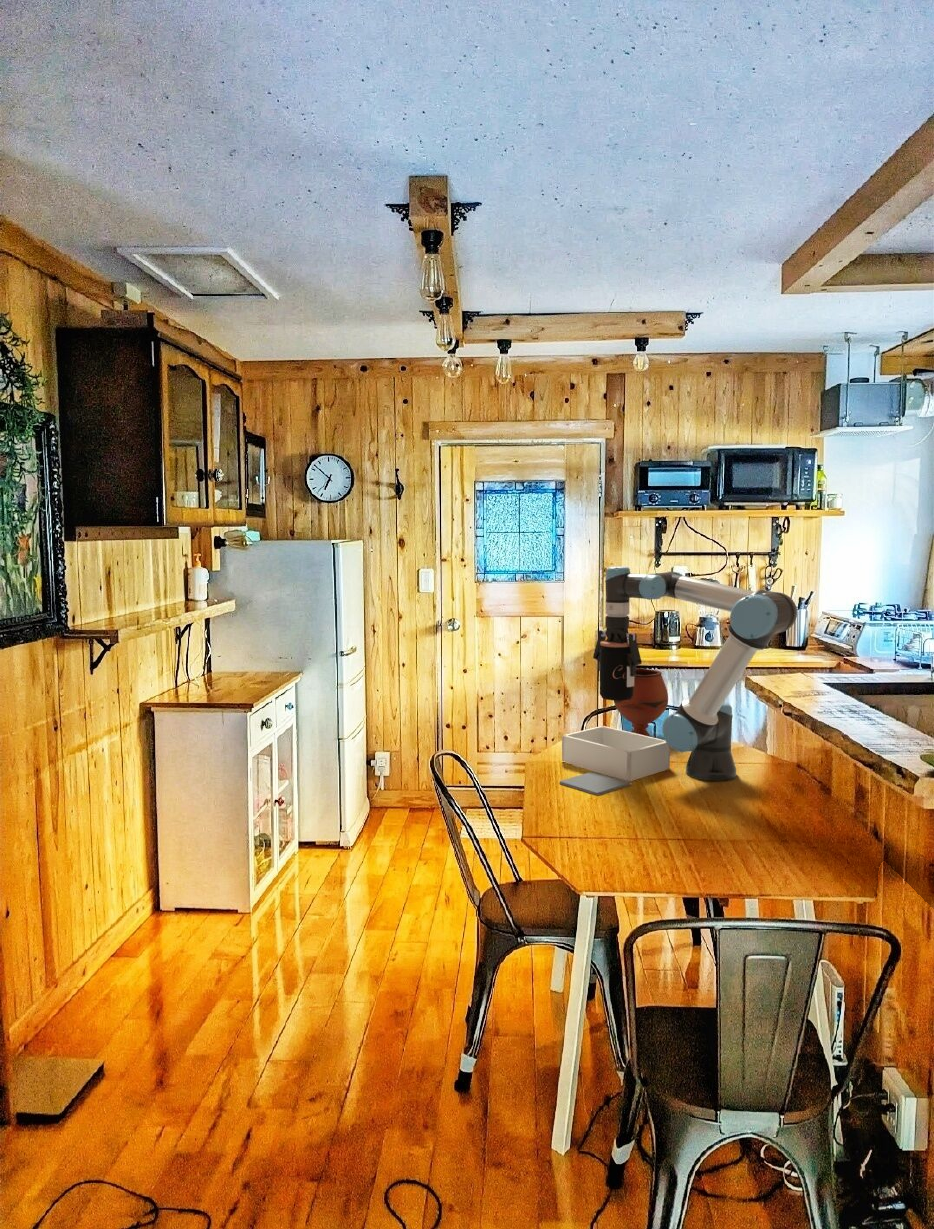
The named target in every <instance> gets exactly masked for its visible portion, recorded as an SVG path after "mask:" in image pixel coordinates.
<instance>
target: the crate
mask: <svg viewBox="0 0 934 1229" xmlns="http://www.w3.org/2000/svg"><path fill="white" fill-rule="evenodd" d="M670 757H671V747H670V746H669V745H668V744H667V742H666V741H665V739H663V738H662V739H660V738H656V737H652V736H651V737H649V736H644V735H640V734H636V733H632V731H627V730H623V729H618V728H614V727H609V726H605V725H601V726H597V727H592V728H587V729H584V730H578V731H575V732H571V733H567V734H563V735H562V736H561V762H562V761H565V762H567V763H569V764H568V765H570V764H572V765H571V766H573V765H574V767H577V768H581V769H584V770H587V771H590V772H596V773H599V774H603V775H606V776H610V777H613V778H617V779H620V780H624V781H627V782H633V781H634V780H635V781H636V780H639V779H641V778H645V777H648V776H652V775H654V774H659V773H661V772H664V771H668V770H670V768H671V767H670V764H671V762H670V760H671V758H670Z"/></svg>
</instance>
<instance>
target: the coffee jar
mask: <svg viewBox="0 0 934 1229" xmlns="http://www.w3.org/2000/svg"><path fill="white" fill-rule="evenodd" d="M606 640H607V639H605V640H604V641H601V642H600V645H601V646H602V648H601V649H600V671H599V673H600V682H599V695H600V697H601V698H602V699H603V700H607V701H614V700H615V701H622V700H629V699H631V697H632V696H633V686H632V687H627V666H628V665H629V664H628V661H627V654H631V650H630V646H629V643H626V642H625V643H623V644H621V643H616V642H606ZM628 642H629V640H628Z"/></svg>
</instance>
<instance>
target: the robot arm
mask: <svg viewBox="0 0 934 1229" xmlns="http://www.w3.org/2000/svg"><path fill="white" fill-rule="evenodd" d="M604 582H605V615H606V616H605V620H604V621H605V622H604V626H605V628H606V629H601V630H598V632H597V636H598V637H597V639H596V640H597V641H596V644H595V648H594V652H593V656H592V658H593V660H596V661H597V666H598V667H597V670H598V672H599V677H598V679H599V681H598V682H599V683H600V649H601V648H602V646H601V645H600V642H601V641H604V640H606V642H616V643H621V644H623V643H625V642H626V643H629V646H630V650H631V654H627V661H628V664H629V665H628V666H627V687H632V686H634V676H636V669H637V666H639V665H642V663H643V662H642V658H641V654H640V650H639V645H638V642H637V640H638V639H637V637H638V635H637V633H635V632H634V633H630V632H629V628H630V616H629V615H630V600H631V599H633V598H634V599H644V600H649V601H650V600H660V599H661V598H662V597H668V598H673V599H677V600H681V601H685V602H690V603H694V604H698V605H701V606H704V607H710V608H713V609H717V610H722V611H726V612H728V613H730V615H729V619H730V623H729V624H728V626H727V632H728V634H729V635H728V637H727V638H726V640H725V642H724V643H723V645H722V647H721V648H720V650H719V652H718V653H717V654H716V656H715V658H714V660H712V662H711V665H710V666H709V668H708V670H707V671H706V673H705V674H704V675H703V678H702V679H701V680H700V682H699V684H698V686H697V687H696V689H695V690H694V692H693V694H692V695H691V697H688V698H684V699H683V700H682V701H681V703H680V704H679V706H678V708H677V710H676V711H675V712H674V713H671V714H669V715H668V716H667V717H665V719H664V721H663V723H662V726H661V731H662V734H663V738H664V739H663V740H665V741H666V742H667V744H668V745H669V746H670V749H672V750H674V751H676V752H679V753H687V752H690V753H689V754H690V755H689V758H688V759H687V763H686V765H685V766H686V767H685V773H686V775H687V776H689V777H691V778H694V779H698V780H702V781H710V782H711V781H713V782H724V781H730V780H734V779H736V777H737V766H736V763H735V760H734V757H733V753H732V736H733V735H732V731H733V728H732V727H733V718H734V717H733V716H734V715H733V708H732V706H731V705H730V704H729V703H727V702H726V700H727V698H728V697H729V695H730V694H731V692H732V690H733V688H735V685H736V684H737V682H738V681H739V679H740V678H741V676H742V675H743V673H744V672H745V670H746V668H747V667H748V666H749V663H750V662H752V659H753V658H754V656H755V654H756V653H757V652H758V651H763V650H765V649H766V648H767V646H768V645H769V643H770V642H771V640H772V638H774V635H776V634H779V633H784V632H786V631H788V630H789V629H791V627H792V626H793V625H794V624H795V622H796V620H797V618H798V608H797V605H796V603H795V601H794V600H793V598H792V597H791V596H789V595H787V594H785V593H783V592H779V591H771V590H766V589H758V590H756V591H753V590H748V589H745V588H740V587H735V586H732V585H727V584H723V583H717V582H713V581H710V580H709V581H708V580H704V579H699V578H696V577H695V578H694V577H691V576H686V575H683V574H682V573H680V572H676V571H667V572H658V573H646V574H645V573H644V574H643V573H642V574H640V573H631V569H630V567H628V566H610V567H607V568H606V572H605V580H604ZM630 598H631V599H630ZM628 641H629V642H628Z"/></svg>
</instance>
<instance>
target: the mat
mask: <svg viewBox="0 0 934 1229" xmlns="http://www.w3.org/2000/svg"><path fill="white" fill-rule="evenodd" d="M631 782H632V781H626V780H622V779H619V778H615V777H612V776H608V775H605V774H601V773H598V772H594V771H589V772H586V773H583V774H580V775H576V776H573V777H569V778H565V779H562V780H559V784H560V785H562V786H565V787H569V788H572V789H575V790H578V791H581V792H585V793H587V794H592V795H595V796H600V795H604V794H607V793H610V792H613V791H616V790H620V789H623V788H626V787H630V786H631Z"/></svg>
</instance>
